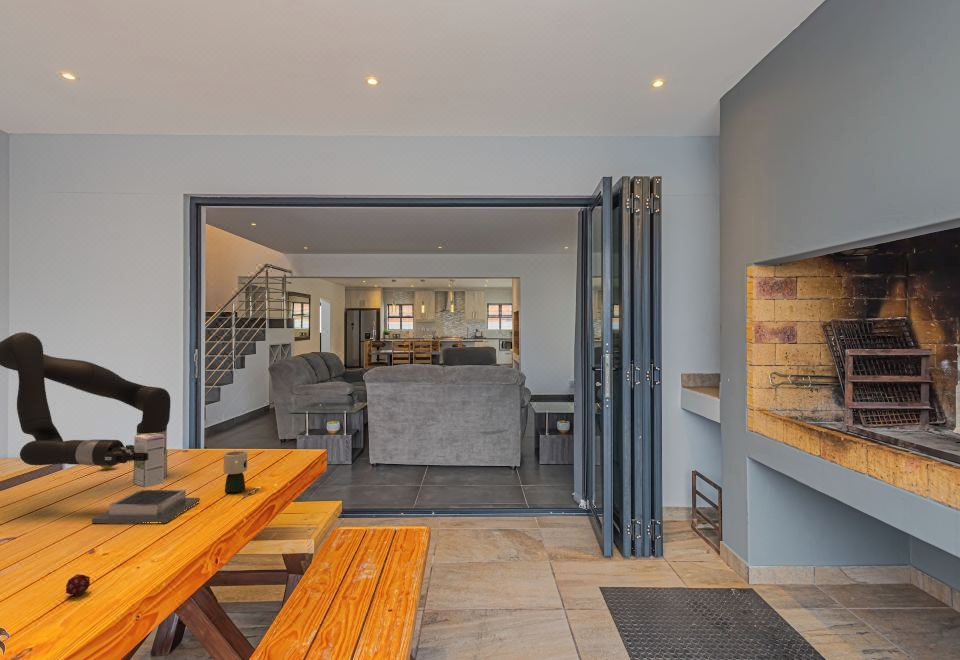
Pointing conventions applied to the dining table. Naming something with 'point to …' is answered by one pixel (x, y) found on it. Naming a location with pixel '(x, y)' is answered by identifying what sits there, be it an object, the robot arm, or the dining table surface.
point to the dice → (77, 584)
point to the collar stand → (147, 507)
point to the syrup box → (149, 460)
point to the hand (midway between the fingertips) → (156, 453)
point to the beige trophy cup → (235, 470)
